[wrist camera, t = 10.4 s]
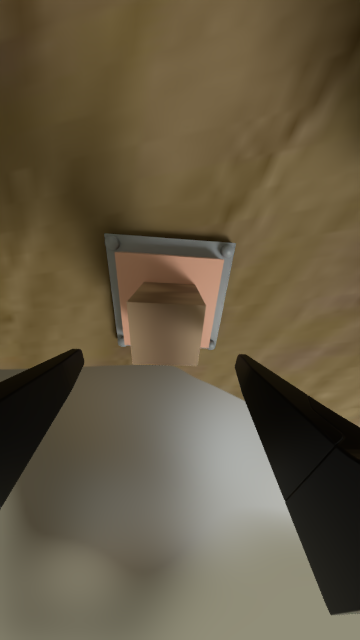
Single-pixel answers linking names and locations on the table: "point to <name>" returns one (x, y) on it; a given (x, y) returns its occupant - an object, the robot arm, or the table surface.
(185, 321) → the tan wooden block
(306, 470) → the robot arm
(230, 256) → the brick base
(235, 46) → the table surface
